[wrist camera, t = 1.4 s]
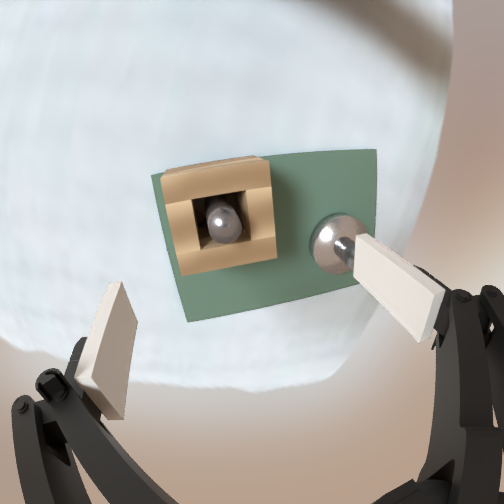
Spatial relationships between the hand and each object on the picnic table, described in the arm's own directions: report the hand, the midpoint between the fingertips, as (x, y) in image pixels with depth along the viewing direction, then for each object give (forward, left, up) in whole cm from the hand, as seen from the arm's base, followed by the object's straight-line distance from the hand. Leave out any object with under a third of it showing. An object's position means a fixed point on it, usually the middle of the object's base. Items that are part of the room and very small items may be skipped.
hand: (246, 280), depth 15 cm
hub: (+8, +15, -18) cm, 25 cm away
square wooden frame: (0, 0, -16) cm, 16 cm away
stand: (0, 0, -18) cm, 18 cm away
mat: (+6, +7, -18) cm, 21 cm away
